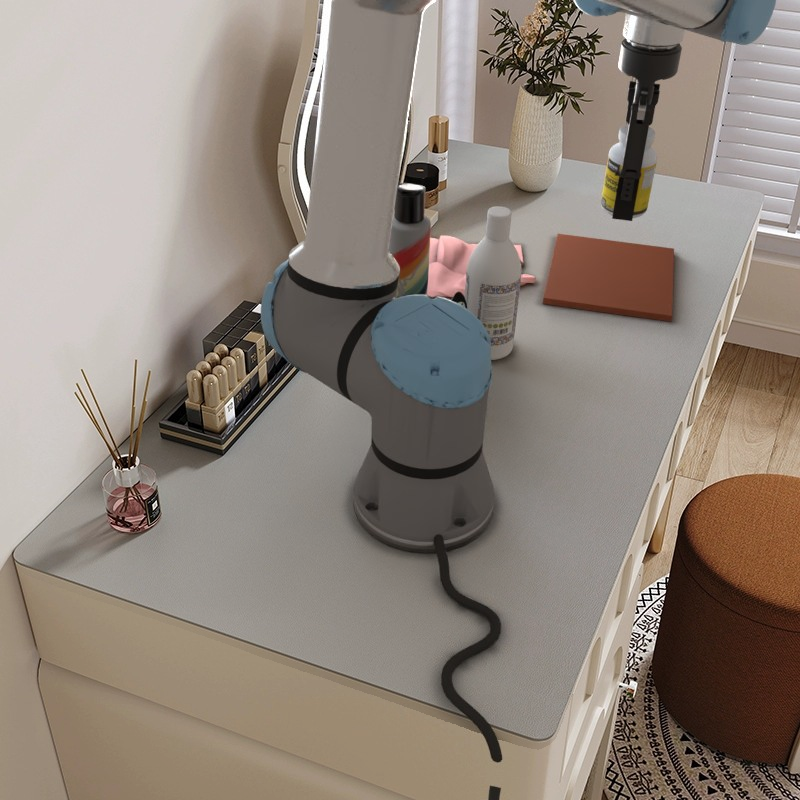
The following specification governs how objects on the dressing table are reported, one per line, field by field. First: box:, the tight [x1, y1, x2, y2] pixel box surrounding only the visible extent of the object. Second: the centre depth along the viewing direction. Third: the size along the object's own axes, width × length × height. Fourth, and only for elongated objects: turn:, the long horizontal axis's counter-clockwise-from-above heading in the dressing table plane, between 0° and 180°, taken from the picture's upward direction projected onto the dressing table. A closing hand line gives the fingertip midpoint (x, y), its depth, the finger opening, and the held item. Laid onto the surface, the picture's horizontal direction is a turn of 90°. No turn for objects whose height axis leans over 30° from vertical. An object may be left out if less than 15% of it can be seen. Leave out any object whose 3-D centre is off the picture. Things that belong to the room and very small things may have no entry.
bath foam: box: [464, 205, 523, 361], centre depth 131 cm, size 7×7×20 cm
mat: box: [542, 233, 675, 323], centre depth 152 cm, size 20×18×1 cm
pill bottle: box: [600, 124, 658, 219], centre depth 140 cm, size 6×6×12 cm
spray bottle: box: [388, 182, 432, 298], centre depth 136 cm, size 6×6×20 cm
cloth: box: [427, 235, 536, 299], centre depth 153 cm, size 20×22×2 cm
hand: (623, 206), depth 143 cm, fingers closed on pill bottle, 6 cm apart
